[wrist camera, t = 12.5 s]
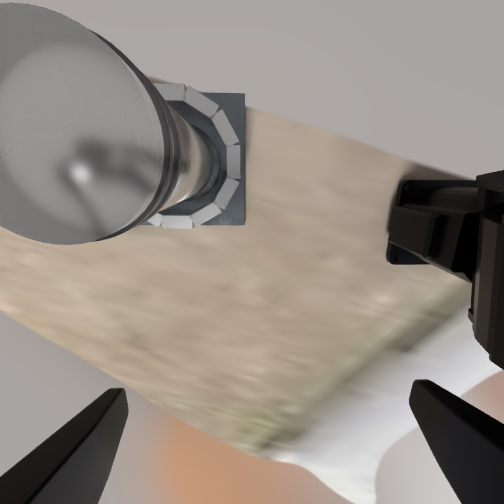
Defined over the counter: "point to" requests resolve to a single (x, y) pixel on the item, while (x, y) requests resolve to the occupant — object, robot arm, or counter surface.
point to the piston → (86, 135)
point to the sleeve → (229, 151)
